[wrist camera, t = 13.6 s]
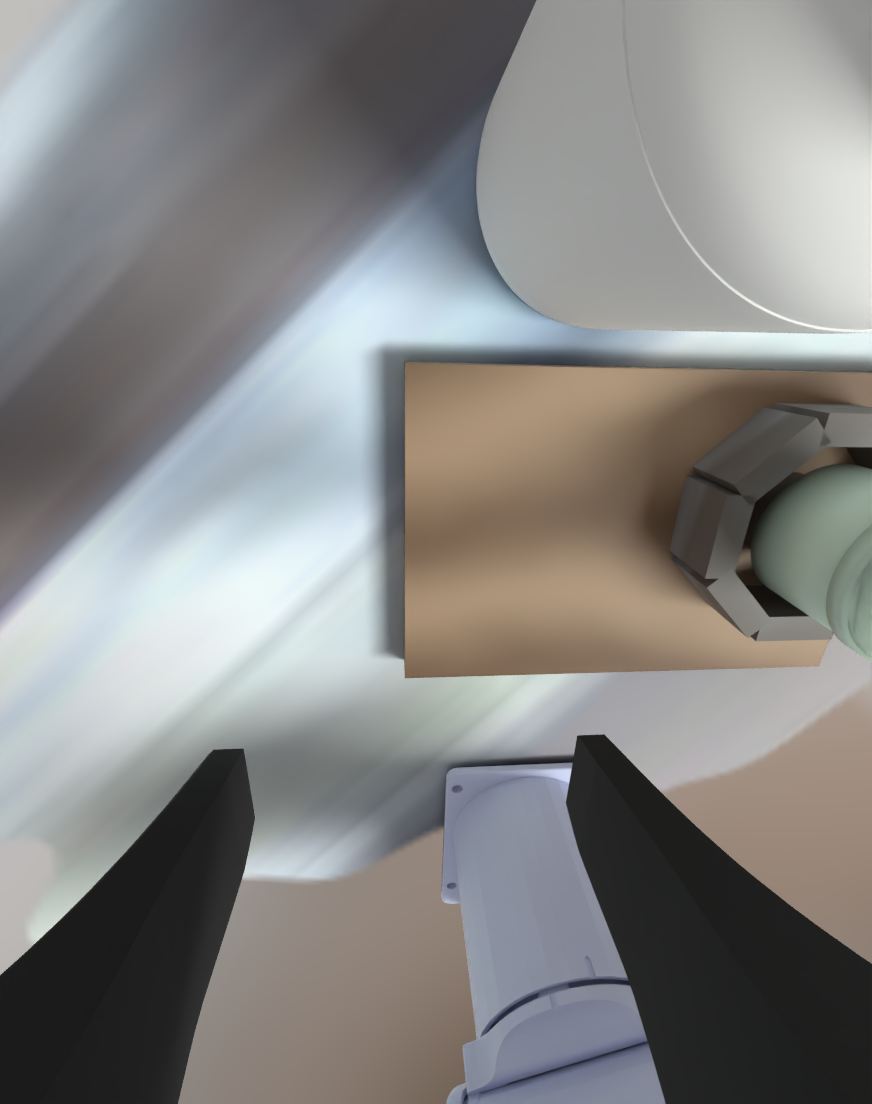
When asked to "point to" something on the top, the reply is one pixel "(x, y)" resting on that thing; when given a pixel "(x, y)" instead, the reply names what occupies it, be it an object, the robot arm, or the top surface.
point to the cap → (822, 550)
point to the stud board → (608, 513)
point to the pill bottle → (685, 165)
